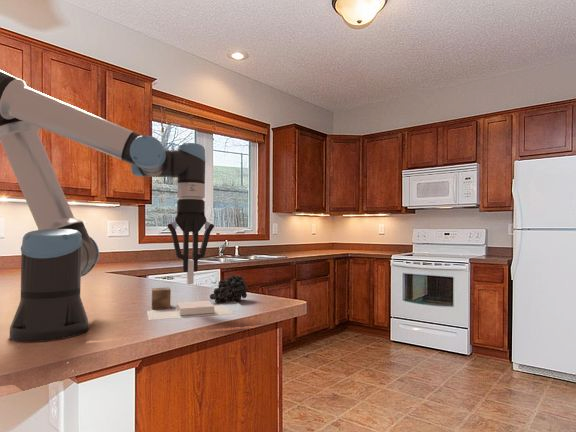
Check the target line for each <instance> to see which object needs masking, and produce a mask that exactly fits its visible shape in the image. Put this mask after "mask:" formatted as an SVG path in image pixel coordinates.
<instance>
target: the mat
mask: <svg viewBox="0 0 576 432" xmlns="http://www.w3.org/2000/svg"><path fill="white" fill-rule="evenodd" d="M213 306H214V313H213V314H203V315H190V316H181V315H180V314H179V312H178V310H177V308H165V309H151V310H147V311H146V313H147V318H148V319H147V320H148V321H155V320H156V321H157V320H169V319H179V318H180V319H181V318H195V317H196V318H197V317H207V316H209V317H210V316H221V315H222V316H223V315H234V313H233V311H232V310H230V309H229V308H228V307H226V305H213Z"/></svg>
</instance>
